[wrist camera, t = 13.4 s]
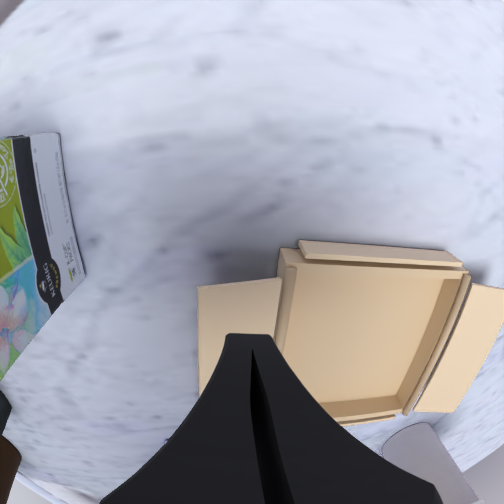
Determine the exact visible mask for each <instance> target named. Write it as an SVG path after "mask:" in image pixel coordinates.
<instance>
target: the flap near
mask: <svg viewBox="0 0 504 504" xmlns="http://www.w3.org/2000/svg"><path fill="white" fill-rule="evenodd" d="M281 282H282V279H281V278H280V277H277V278H268V279H260V280H251V281H243V282H234V283H225V284H216V285H206V286H198V382H199V397H200V396H201V394H202V392H203V390H204V389H205V387H206V385H207V383H208V382H209V380H210V378H211V376H212V374H213V371H214V369H215V367H216V365H217V363H218V360H219V358H220V355H221V353H222V350H223V346H224V342H225V336H226V335H227V334H228V333H244V334H269V335H270V336H271V337H272V338H273V337H274V330H275V323H276V317H277V310H278V303H279V296H280V289H281Z"/></svg>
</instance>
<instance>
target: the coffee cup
mask: <svg viewBox="0 0 504 504" xmlns="http://www.w3.org/2000/svg"><path fill="white" fill-rule="evenodd" d="M382 453H383V457H384V459H386V460H387V461H389V462H391V463H392V464H394V465H396V466H397V467H399V468H401V469H403V470H405V471H407V472H409V473H411V474H413V475H415V476H417V477H419V478H421V479H423V480H426V481H428V482H430V483H432V484H434V485H435V487H436V489H437V491H438V493H439V495H440V496H441V499H442V501H443V504H485V500H484V499H481V500H479V498H478V497H477V495H476V494H475V492H474V491H473V489H472V488H471V486H470V484H469V483H468V482H467V480H466V478H465V477H464V475H463V474H462V472H461V471H460V469H459V468H458V466H457V465H456V463H455V462H454V460H453V459H452V457H451V456H450V454H449V453H448V451H447V450H446V448H445V447H444V445H443V444H442V442H441V441H440V439H439V438H438V436H437V435H436V433H435V432H434V430H433V429H432V427H431V426H430V425H429V424H428V423H418V424H414V425H411V426H409V427H406V428H404V429H403V430H401V431H399V432H397V433H396V434H394V435H393V436H392V437H391V438H389V439H388V440H387V441H386V442H385V444H384V445H383V447H382Z"/></svg>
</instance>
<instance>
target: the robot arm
mask: <svg viewBox="0 0 504 504" xmlns="http://www.w3.org/2000/svg"><path fill="white" fill-rule="evenodd" d="M99 504H443V501H442V499H441V496H440V495H439V493H438V491H437V489H436V487H435V485H434V484H432V483H430V482H428V481H426V480H423V479H421V478H419V477H417V476H415V475H413V474H411V473H409V472H407V471H405V470H403V469H401V468H399V467H397V466H396V465H394V464H392V463H391V462H389V461H387V460H386V459H384V458H382V457H381V456H379V455H378V454H376V453H375V452H374V451H372V450H371V449H369V448H368V447H367V446H365V445H364V444H363V443H361V442H360V441H359V440H357V439H356V438H355V437H353V436H352V435H351V434H350V433H349V432H347V431H346V430H345V429H344V428H343V427H342V426H341V425H340V424H338V423H337V422H336V421H335V420H334V419H333V418H332V417H331V416H330V415H329V414H328V413H327V412H326V411H325V410H324V409H323V408H322V406H321V405H320V404H319V403H318V402H317V401H316V400H315V399H314V397H313V396H312V395H311V394H310V393H309V392H308V390H307V389H306V388H305V387H304V385H303V384H302V383H301V381H300V380H299V379H298V377H297V376H296V374H295V373H294V372H293V370H292V369H291V368H290V366H289V365H288V363H287V362H286V360H285V358H284V357H283V355H282V354H281V352H280V350H279V349H278V347H277V345H276V344H275V342H274V340H273V338H272V337H271V336H270V335H269V334H244V333H228V334H227V335H226V336H225V342H224V346H223V350H222V353H221V355H220V358H219V360H218V363H217V365H216V367H215V369H214V371H213V374H212V376H211V378H210V380H209V382H208V383H207V385H206V387H205V389H204V390H203V392H202V394H201V396H200V397H199V399H198V401H197V402H196V404H195V405H194V407H193V408H192V410H191V411H190V413H189V414H188V416H187V417H186V418H185V420H184V421H183V422H182V424H181V425H180V426H179V428H178V429H177V430H176V431H175V432H174V434H173V435H172V436H171V437H170V439H169V440H166V441H165V442H164V445H163V446H162V448H161V449H160V450H159V451H158V452H157V453H156V454H155V455H154V456H153V457H152V458H151V459H150V460H149V461H148V462H147V463H146V464H145V465H143V466H142V467H141V468H140V469H139V470H138V471H137V472H136V473H135V474H134V475H133V476H131V477H130V478H129V479H128V480H127V481H125V482H124V483H123V484H121V485H120V486H119V487H118V488H116V489H115V490H114V491H112V492H111V493H110V494H108V495H107V496H106V497H104V498H103V499H102V500H101V502H100V503H99Z"/></svg>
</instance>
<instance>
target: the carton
mask: <svg viewBox="0 0 504 504" xmlns="http://www.w3.org/2000/svg"><path fill="white" fill-rule="evenodd" d="M298 245H299V247H300V249H295V248H280V253H279V260H278V268H277V276H276V278H277V277H280V278H281V279H282V282H281V289H280V296H279V303H278V310H277V317H276V323H275V330H274V337H273V340H274V342H275V344H276V345H277V347H278V349H279V350H280V352H281V354H282V355H283V357H284V358H285V360H286V362H287V363H288V365H289V366H290V368H291V369H292V370H293V372H294V373H295V374H296V376H297V377H298V379H299V380H300V381H301V383H302V384H303V385H304V387H305V388H306V389H307V390H308V392H309V393H310V394H311V395H312V396H313V397H314V399H315V400H316V401H317V402H318V403H319V404H320V405H321V406H322V408H323V409H324V410H325V411H326V412H327V413H328V414H329V415H330V416H331V417H332V418H333V419H334V420H335V421H336V422H337V423H338V424H340V425H341V426H349V425H357V424H365V423H372V422H378V421H384V420H390V419H395V415H394V414H397V413H402V414H403V415H405V416H407V415H408V413H409V412H410V410H411V408H412V407H413V405H414V403H415V401H416V400H417V398H418V396H419V394H420V393H421V391H422V389H423V387H424V385H425V383H426V382H427V380H428V378H429V376H430V374H431V372H432V370H433V368H434V366H435V364H436V362H437V360H438V358H439V356H440V354H441V352H442V349H443V347H444V345H445V343H446V341H447V339H448V336H449V334H450V332H451V329H452V327H453V325H454V322H455V320H456V317H457V315H458V312H459V310H460V307H461V305H462V302H463V300H464V297H465V294H466V291H467V289H468V286H469V283H470V280H471V276H470V275H468V273H469V271H468V270H467V269H465V268H464V267H463V266H462V265H463V262H461V261H460V260H459V259H457V258H456V257H455V256H453V255H452V254H450V253H449V252H448V251H437V250H425V249H412V248H400V247H387V246H374V245H361V244H347V243H333V242H319V241H305V240H299V243H298Z"/></svg>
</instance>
